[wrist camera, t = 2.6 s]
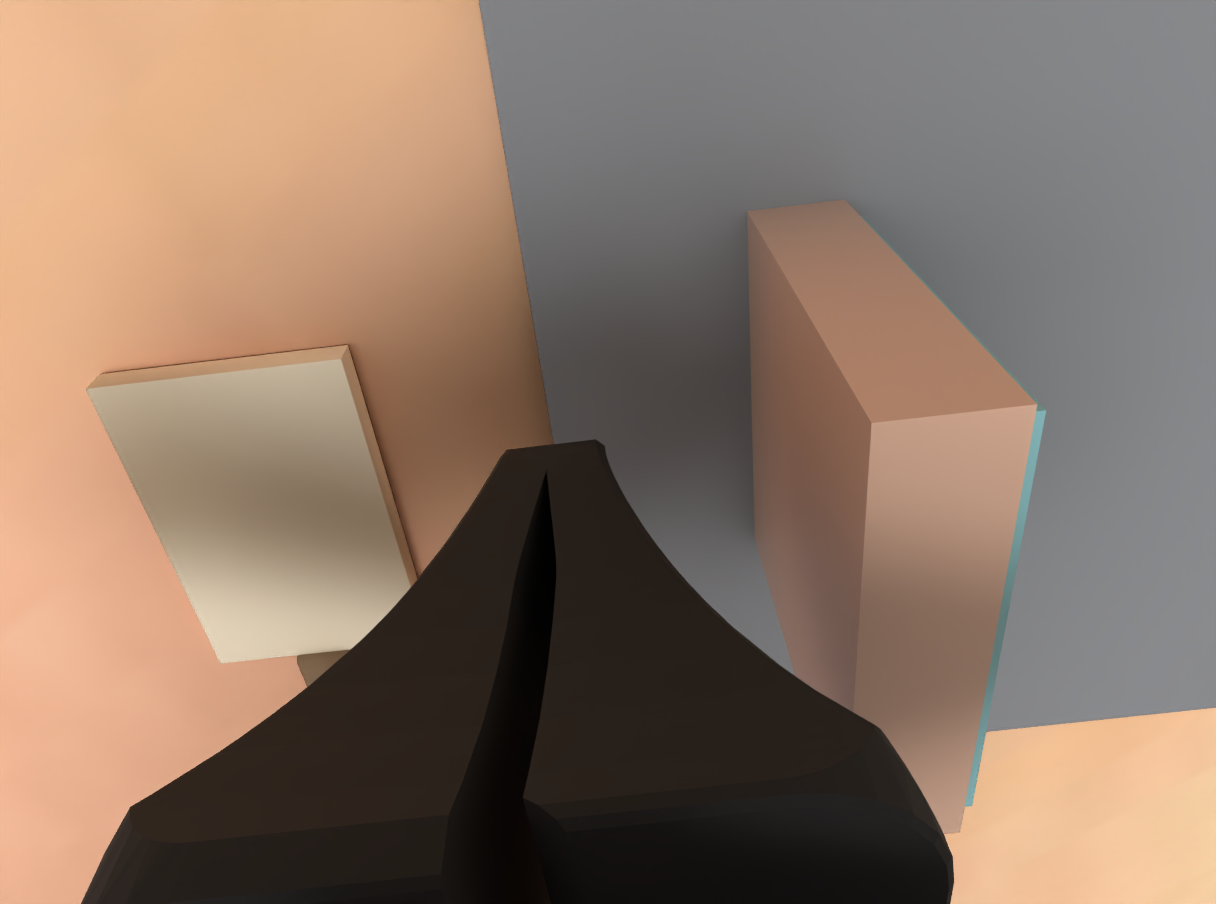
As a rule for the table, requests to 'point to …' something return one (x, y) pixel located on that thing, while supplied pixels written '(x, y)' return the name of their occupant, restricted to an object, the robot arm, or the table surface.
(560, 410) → the mat
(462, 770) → the robot arm
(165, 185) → the table surface
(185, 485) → the turner
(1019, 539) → the tile
